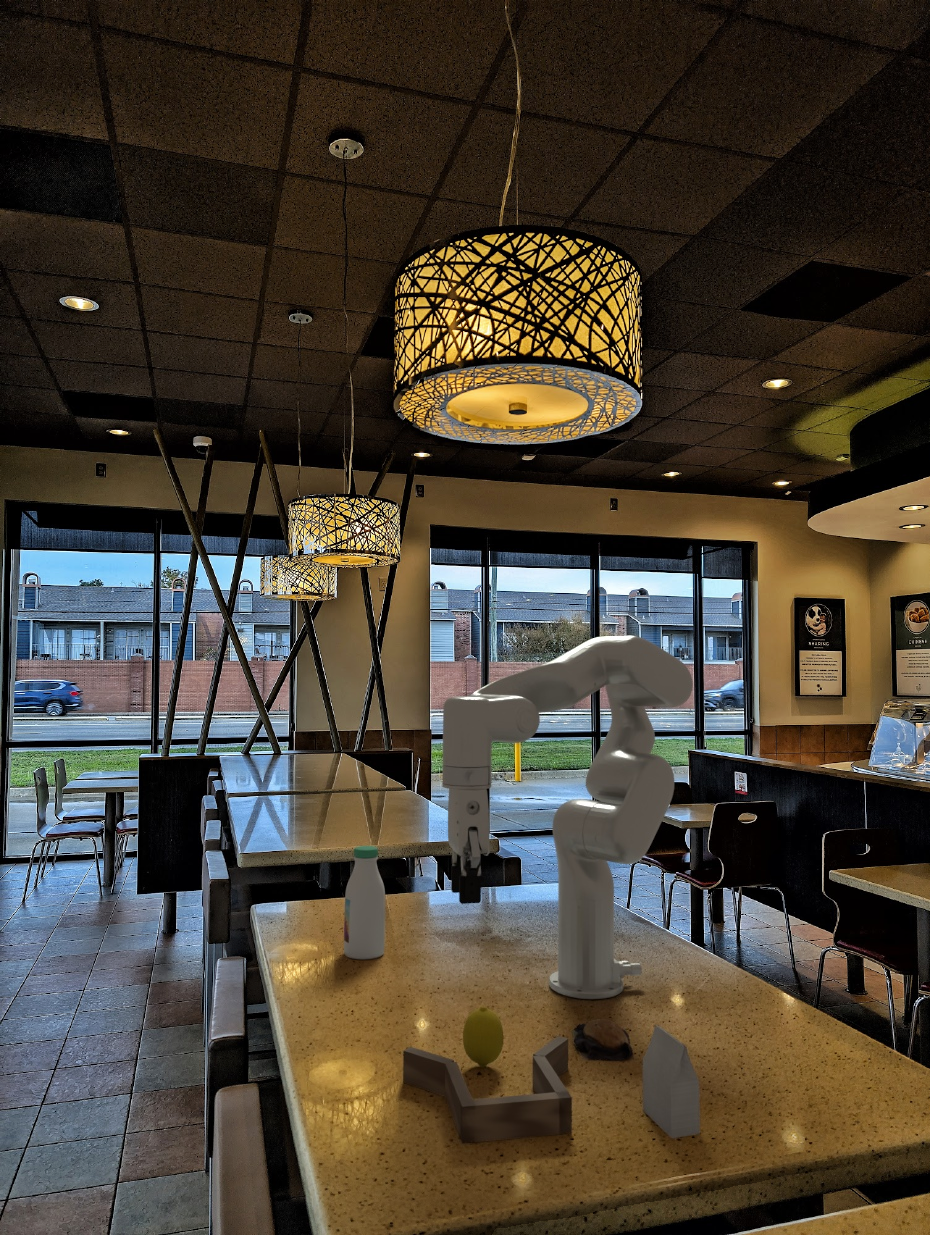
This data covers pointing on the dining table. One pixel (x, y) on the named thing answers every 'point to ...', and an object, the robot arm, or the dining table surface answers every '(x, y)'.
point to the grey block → (670, 1086)
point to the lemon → (483, 1036)
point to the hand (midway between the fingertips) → (465, 896)
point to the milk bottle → (364, 907)
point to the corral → (498, 1114)
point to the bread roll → (602, 1041)
